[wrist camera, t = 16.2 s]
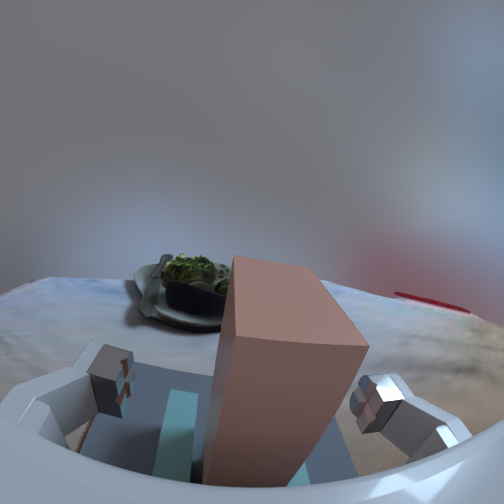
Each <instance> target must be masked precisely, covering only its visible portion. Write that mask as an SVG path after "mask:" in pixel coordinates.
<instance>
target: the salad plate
mask: <svg viewBox="0 0 504 504" xmlns="http://www.w3.org/2000/svg"><path fill="white" fill-rule="evenodd" d="M231 268H232V267H231V266H228V265H224V264H219V263H213V262H211V261H209V260H208V259H207V258H206V257H202V256H201V255H200V257H191V258H189V257H188V258H186V257H184V254H183V253H182V254H180V258H179V257H178V256H177V257H176V259H175V260H173V256H172V255H170V254H164V255H162V256H161V259H160V262H159V264H152V265H146V266H144V267H141V268H140V269H138V270H136V271H135V273H134V280H135V283H136V286H137V288H138V289H139V291H140V292H141V294H142V296H141V299H140V302H139V311H140V312H141V313H142V314H143V315H144V316H145V317H148V316H151V317H154V318H156V319H158V320H160V321H162V322H164V323H166V324H168V325H170V326H172V327H175V328H177V329H181V330H184V331H189V332H195V333H214V332H221V326H222V320H223V314H224V308H225V302H226V297H227V291H228V285H229V279H230V274H231ZM218 281H220V282H218Z"/></svg>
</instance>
